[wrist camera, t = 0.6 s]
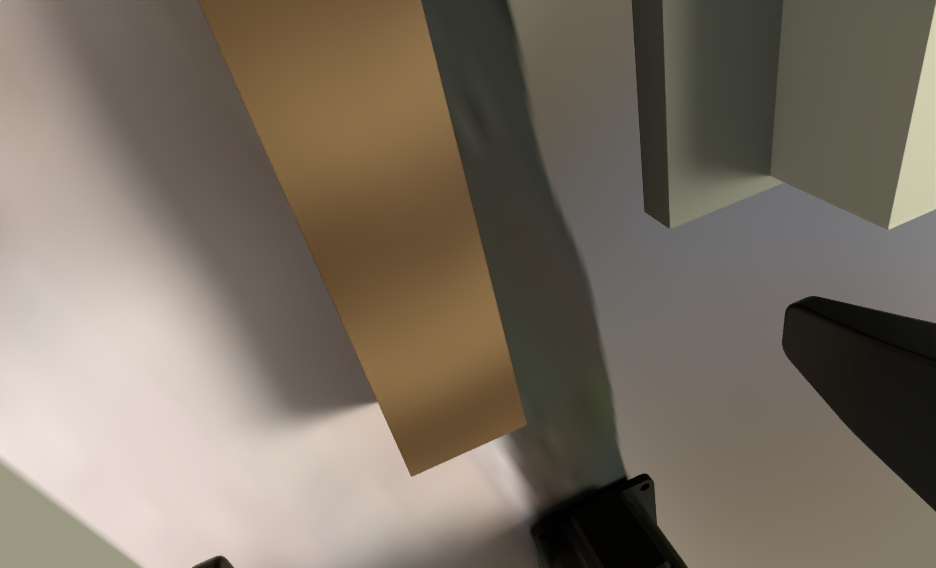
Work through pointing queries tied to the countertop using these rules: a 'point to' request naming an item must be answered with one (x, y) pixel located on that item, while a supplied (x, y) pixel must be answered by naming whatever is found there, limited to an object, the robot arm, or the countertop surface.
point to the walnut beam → (380, 206)
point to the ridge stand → (787, 104)
